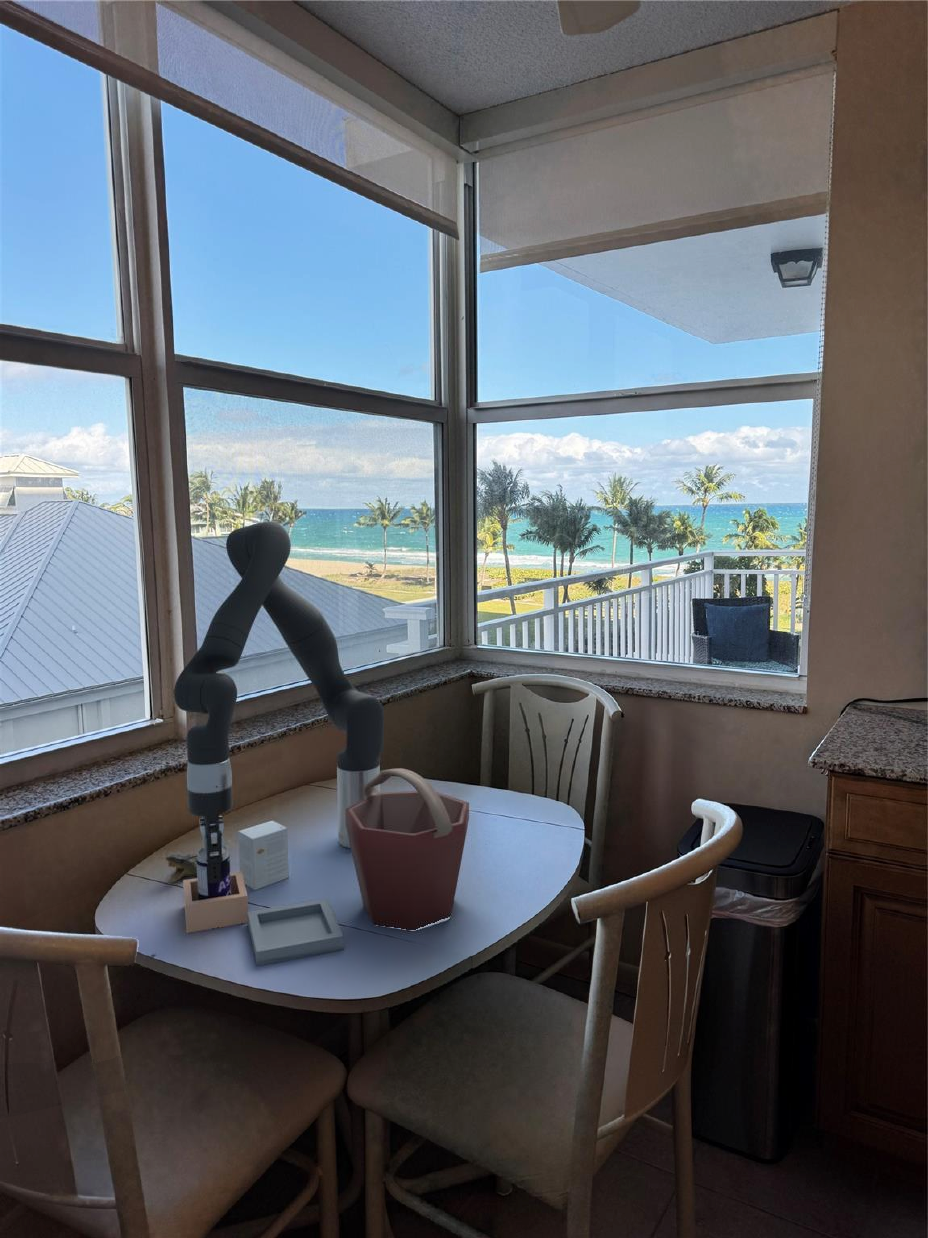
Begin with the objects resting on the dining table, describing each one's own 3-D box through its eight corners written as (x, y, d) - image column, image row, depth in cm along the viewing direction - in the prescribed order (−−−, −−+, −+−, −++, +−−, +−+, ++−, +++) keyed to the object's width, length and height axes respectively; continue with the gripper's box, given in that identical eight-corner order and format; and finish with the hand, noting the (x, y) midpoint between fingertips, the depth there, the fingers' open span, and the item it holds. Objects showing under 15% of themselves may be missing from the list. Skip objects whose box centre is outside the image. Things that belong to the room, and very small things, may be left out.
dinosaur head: (177, 894, 158) (177, 863, 156) (153, 882, 161) (153, 852, 159) (207, 874, 165) (208, 844, 163) (183, 863, 168) (184, 834, 166)
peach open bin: (242, 896, 155) (241, 871, 154) (248, 922, 145) (247, 895, 144) (184, 906, 151) (183, 880, 150) (186, 933, 141) (185, 905, 141)
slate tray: (327, 911, 149) (326, 898, 149) (343, 949, 136) (343, 936, 136) (247, 924, 144) (247, 912, 144) (257, 966, 131) (256, 952, 131)
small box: (274, 869, 166) (273, 819, 165) (290, 878, 163) (288, 827, 161) (239, 882, 161) (237, 830, 160) (253, 891, 157) (251, 838, 156)
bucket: (338, 888, 158) (335, 762, 155) (446, 870, 166) (446, 750, 163) (370, 952, 135) (368, 806, 132) (494, 927, 143) (494, 789, 140)
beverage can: (222, 923, 145) (219, 858, 143) (193, 920, 146) (189, 856, 144) (237, 908, 150) (235, 845, 149) (209, 905, 151) (206, 843, 150)
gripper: (235, 794, 139) (239, 888, 142) (228, 769, 153) (231, 855, 155) (189, 800, 137) (193, 895, 139) (185, 774, 150) (190, 861, 152)
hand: (213, 874), depth 147 cm, fingers closed on beverage can, 5 cm apart
